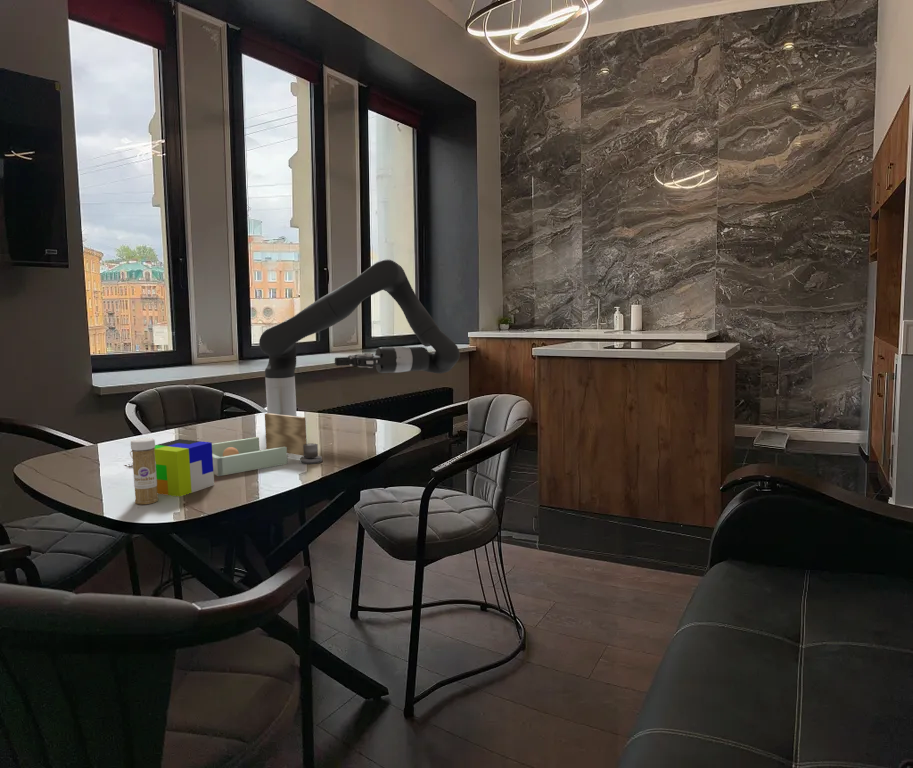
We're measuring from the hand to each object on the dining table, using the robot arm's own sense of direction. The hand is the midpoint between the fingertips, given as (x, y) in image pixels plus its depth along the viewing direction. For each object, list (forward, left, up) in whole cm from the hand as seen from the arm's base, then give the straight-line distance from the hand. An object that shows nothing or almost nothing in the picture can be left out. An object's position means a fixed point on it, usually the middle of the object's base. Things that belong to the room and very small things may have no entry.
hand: (335, 361), depth 189 cm
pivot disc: (+14, -11, -24) cm, 30 cm away
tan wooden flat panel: (+8, -15, -23) cm, 29 cm away
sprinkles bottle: (+33, -50, -25) cm, 65 cm away
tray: (+7, -28, -24) cm, 38 cm away
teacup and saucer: (-3, -51, -25) cm, 57 cm away
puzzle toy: (+25, -43, -25) cm, 56 cm away
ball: (+5, -30, -22) cm, 38 cm away
